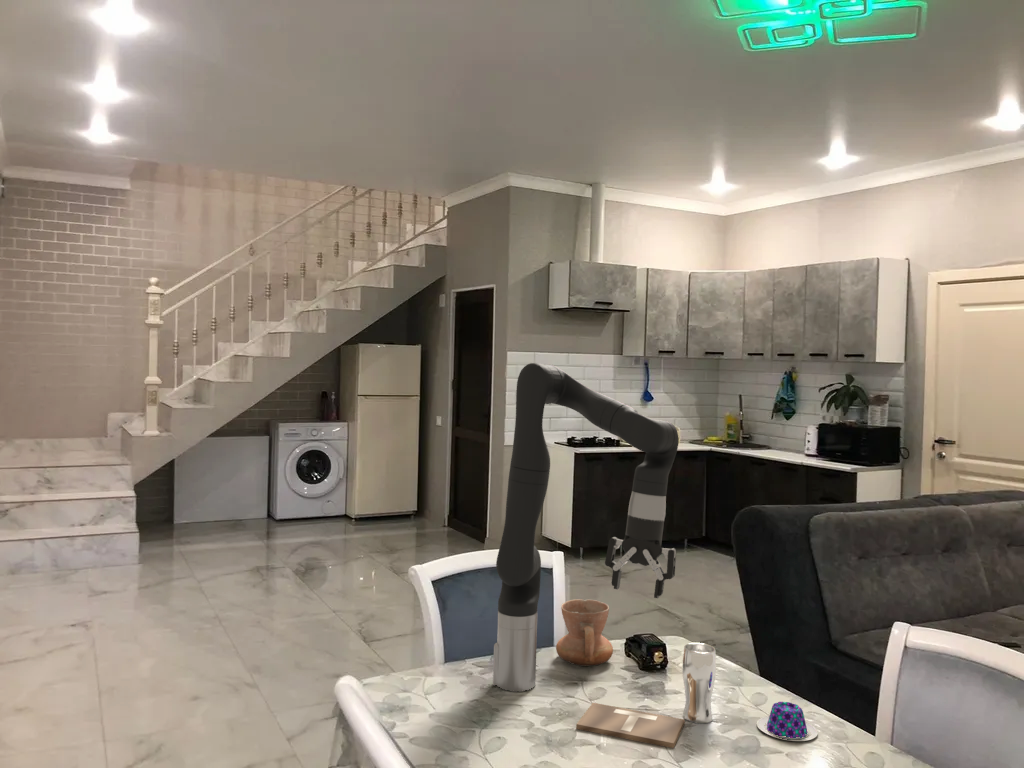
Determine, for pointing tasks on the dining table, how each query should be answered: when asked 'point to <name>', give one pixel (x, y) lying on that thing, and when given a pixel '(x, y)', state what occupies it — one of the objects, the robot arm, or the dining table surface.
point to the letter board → (631, 724)
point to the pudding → (786, 722)
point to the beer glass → (698, 681)
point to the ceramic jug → (584, 633)
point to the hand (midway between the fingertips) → (636, 593)
